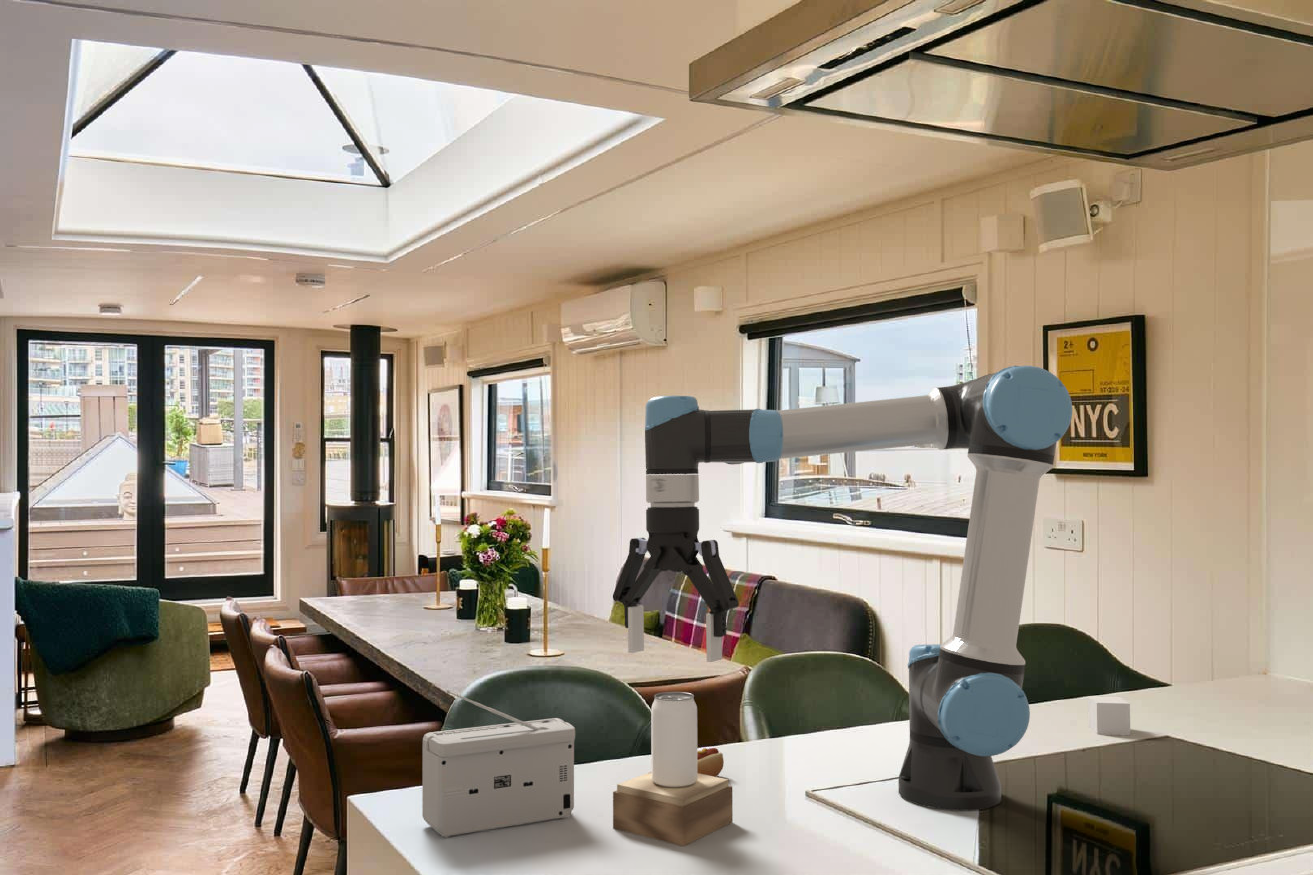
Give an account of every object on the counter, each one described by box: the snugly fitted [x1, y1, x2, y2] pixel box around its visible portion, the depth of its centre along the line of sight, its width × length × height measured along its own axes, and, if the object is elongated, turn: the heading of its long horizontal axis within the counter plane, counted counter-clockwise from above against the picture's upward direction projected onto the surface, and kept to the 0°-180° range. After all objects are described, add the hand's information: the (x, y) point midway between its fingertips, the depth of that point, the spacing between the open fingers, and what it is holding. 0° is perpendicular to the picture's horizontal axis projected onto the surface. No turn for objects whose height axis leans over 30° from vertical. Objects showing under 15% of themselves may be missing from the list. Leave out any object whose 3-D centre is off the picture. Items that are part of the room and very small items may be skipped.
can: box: [650, 691, 698, 788], centre depth 149 cm, size 6×6×12 cm
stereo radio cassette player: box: [421, 689, 576, 839], centre depth 151 cm, size 21×8×20 cm, turn 117°
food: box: [697, 747, 725, 777], centre depth 169 cm, size 14×6×5 cm, turn 143°
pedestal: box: [612, 771, 734, 847], centre depth 149 cm, size 12×12×6 cm
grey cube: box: [1087, 695, 1131, 736], centre depth 203 cm, size 6×6×6 cm
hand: (674, 656), depth 150 cm, fingers open, 13 cm apart
